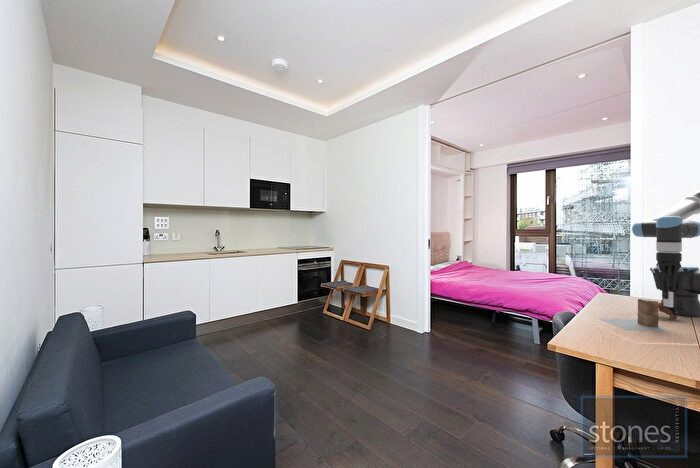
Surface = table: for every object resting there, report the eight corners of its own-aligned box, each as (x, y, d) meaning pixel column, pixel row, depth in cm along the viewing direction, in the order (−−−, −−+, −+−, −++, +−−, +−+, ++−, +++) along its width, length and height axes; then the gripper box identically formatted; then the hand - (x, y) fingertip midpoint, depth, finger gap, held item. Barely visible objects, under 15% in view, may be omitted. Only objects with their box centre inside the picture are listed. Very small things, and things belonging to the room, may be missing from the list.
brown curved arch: (656, 315, 147) (668, 303, 143) (673, 329, 138) (686, 316, 134) (633, 310, 146) (645, 297, 142) (650, 323, 137) (662, 310, 134)
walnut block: (648, 323, 131) (649, 298, 131) (658, 327, 127) (658, 301, 126) (637, 323, 132) (637, 298, 131) (646, 326, 127) (646, 301, 127)
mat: (640, 320, 138) (640, 319, 138) (673, 332, 122) (673, 331, 122) (598, 319, 140) (598, 318, 140) (625, 331, 124) (625, 330, 124)
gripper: (677, 251, 131) (676, 304, 131) (644, 251, 132) (644, 304, 133) (694, 252, 123) (694, 309, 124) (659, 252, 125) (659, 308, 125)
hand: (668, 306), depth 128 cm, fingers closed
